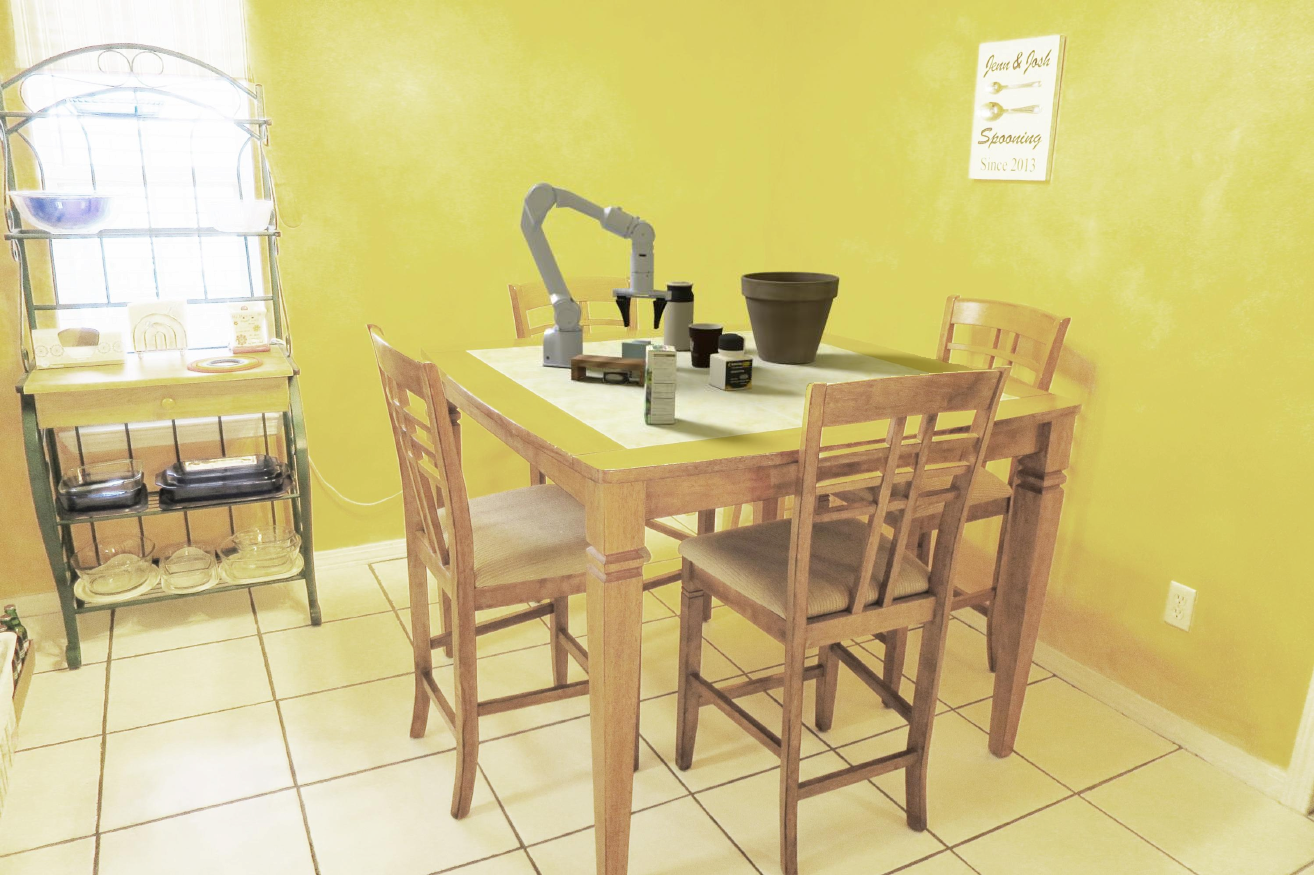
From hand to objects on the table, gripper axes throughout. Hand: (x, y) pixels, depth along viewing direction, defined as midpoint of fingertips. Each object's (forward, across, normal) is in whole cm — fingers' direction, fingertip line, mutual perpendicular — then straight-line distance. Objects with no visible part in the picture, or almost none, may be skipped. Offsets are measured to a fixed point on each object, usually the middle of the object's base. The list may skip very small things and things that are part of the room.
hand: (641, 327), depth 226 cm
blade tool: (+9, 0, +7) cm, 12 cm away
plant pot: (+10, -33, -22) cm, 41 cm away
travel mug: (+10, -3, -25) cm, 27 cm away
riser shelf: (+10, +1, +19) cm, 21 cm away
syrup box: (+10, -19, +49) cm, 53 cm away
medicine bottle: (+10, -26, +15) cm, 31 cm away
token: (+10, 0, +19) cm, 21 cm away
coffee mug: (+10, -15, -7) cm, 19 cm away
